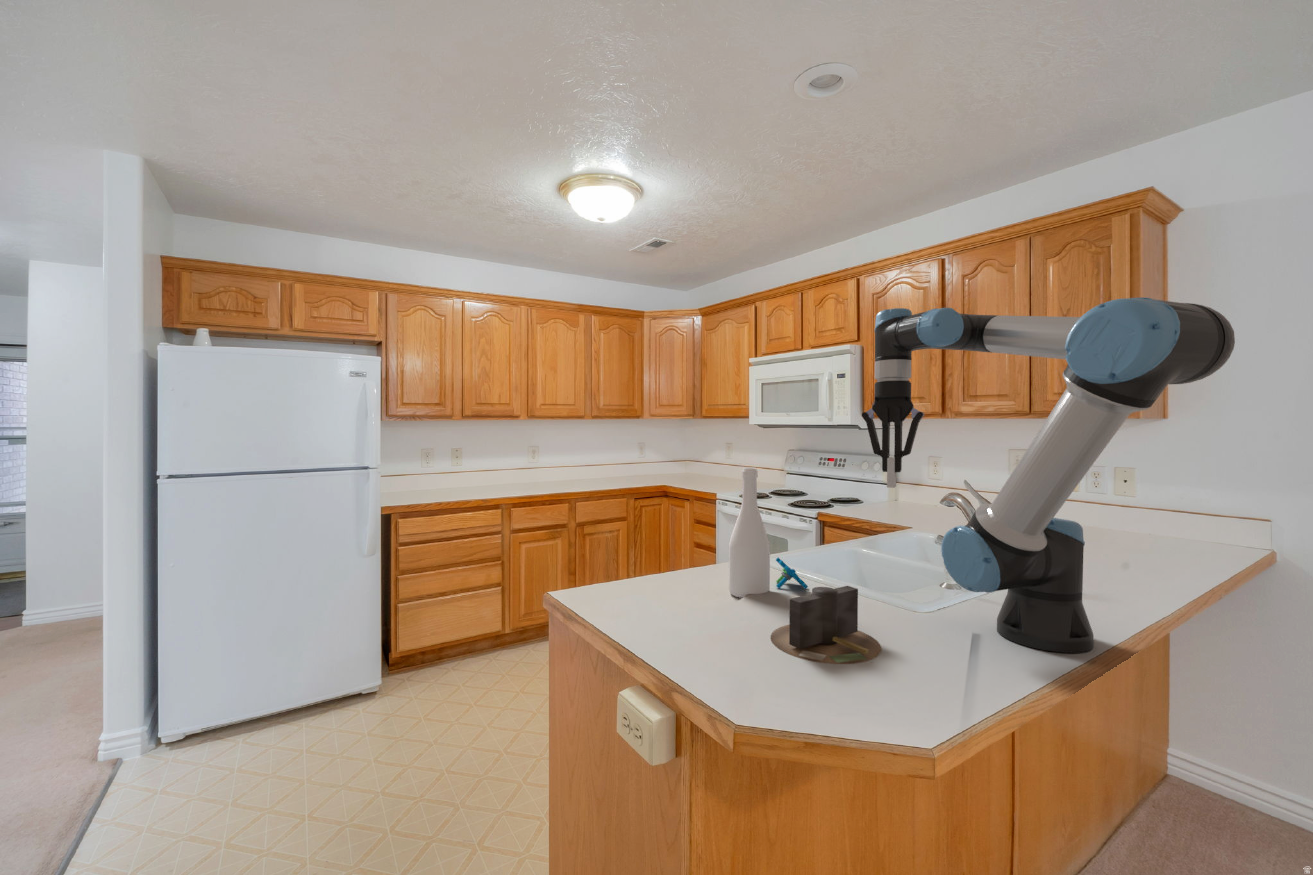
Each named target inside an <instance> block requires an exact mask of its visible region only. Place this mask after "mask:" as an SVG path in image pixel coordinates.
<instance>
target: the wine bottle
mask: <svg viewBox="0 0 1313 875" xmlns="http://www.w3.org/2000/svg"><path fill="white" fill-rule="evenodd" d="M758 474H759V473H758V470H757V467H743V468H742V470H741V478H742V491H741V492H742V496H741V498H742V499H741V500H742V501H741V506H740V509H739V513H738V516H737V518H736V521H735V524H734V528H733V530H732V532H731V535H730V539H729V544H728V551H729V552H728V568H729V569H728V590H729V593H730V594H731V595H732V596H733V597H736V598H738V597H739V598H738V599H742V598H744V597H746V596H747V595H760V594H765V593H768V592H771V591H770V586H771V585H770V583H771V582H770V581H771V580H770V579H771V575H770V574H771V573H770V572H771V553H770V552H771V546H770V541H769V537H768V534H767V531H766V529H765V526H764V522H763V519H762V516H761V512H760V510H759V506H758V505H759V504H758V492H757V491H758V490H757V487H758V486H757V478H758Z"/></svg>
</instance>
